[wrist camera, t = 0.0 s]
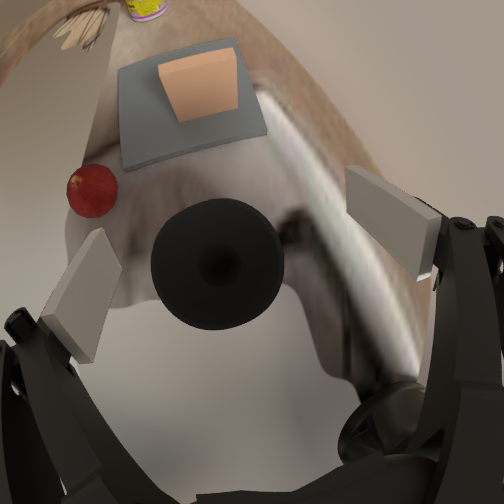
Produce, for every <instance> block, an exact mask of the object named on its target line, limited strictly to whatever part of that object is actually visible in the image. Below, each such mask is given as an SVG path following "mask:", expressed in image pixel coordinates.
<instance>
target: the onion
mask: <svg viewBox="0 0 504 504" xmlns="http://www.w3.org/2000/svg"><path fill="white" fill-rule="evenodd" d="M117 192H118V185H117V181H116V178H115V176H114V175H113V173H112V172H111V171H110V170H109V169H108V168H107V167H105V166H102V165H98V164H89V165H84V166H82V167H81V168H79V169H77V170H76V171H75V172H74V173H73V174H72V175H71V177H70V179H69V182H68V184H67V198H68V201H69V204H70V206H71V207H72V209H73V210H74V211H75V212H76V213H77V214H79V215H81V216H84V217H86V218H97V217H101V216H102V215H104V214H106V213H107V212H108V211H109V210H110V209H111V208H112V207H113V206H114V204H115V201H116V199H117Z"/></svg>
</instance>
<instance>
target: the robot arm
mask: <svg viewBox="0 0 504 504" xmlns="http://www.w3.org/2000/svg"><path fill="white" fill-rule="evenodd" d="M345 183H346V206H347V213H348V214H349V215H350V216H351V217H352V218H353V219H354V220H355V221H357V222H358V223H359V224H360V225H361V226H362V227H363V228H364V229H365V230H366V231H367V232H368V233H369V234H370V235H371V236H372V237H373V238H374V239H375V240H377V241H378V242H379V243H380V244H381V245H382V246H383V247H384V248H385V249H386V250H387V251H388V252H389V253H390V254H391V255H392V256H393V257H394V258H395V259H396V260H397V262H398V263H399V264H400V265H401V266H402V267H403V268H404V269H405V270H406V271H407V272H408V273H409V274H410V275H411V276H412V277H413V278H414V279H415V281H416V282H417V281H420V280H422V279H424V278H427V277H429V276H430V274H431V270H432V265H433V264H434V265H435V266H436V267H437V268H438V273H437V277H436V280H435V284H434V288H433V291H435V290H436V314H435V327H434V338H433V347H432V355H431V362H430V369H429V375H428V380H427V387H424V386H423V385H421V384H418V383H415V382H401V383H396V384H393V385H390V386H388V387H386V388H383V389H382V390H380V391H378V392H376V393H375V394H373V395H372V396H370V397H369V398H368V399H367V400H365V401H364V402H363V403H362V404H361V405H360V406H359V407H358V408H357V409H356V410H355V411H354V412H353V413H352V415H351V416H350V417H349V419H348V420H347V422H346V423H345V425H344V427H343V429H342V431H341V433H340V436H339V440H338V454H339V457H340V459H341V460H342V462H343V464H344V465H343V466H340V467H337V468H336V469H334V470H332V471H331V472H329V473H327V474H326V475H324V476H322V477H320V478H318V479H317V480H315V481H313V482H311V483H309V484H308V485H305V486H303V487H302V488H299V489H297V490H295V491H292V492H257V491H242V490H240V491H232V492H222V493H211V494H197V495H196V498H197V501H196V502H193V503H191V504H504V387H503V385H502V364H501V351H502V354H503V358H504V218H502V217H499V216H489V217H488V218H487V222H486V226H485V227H480V228H477V227H476V225H475V224H474V223H473V222H472V221H470V220H468V219H466V218H462V217H453V218H450V219H449V218H448V217H446V216H445V215H444V214H442V213H441V212H439V211H438V210H436V209H435V208H432V206H430V205H429V204H426V202H424V201H422V200H421V199H419V198H417V197H414V196H411V195H410V194H408V193H406V192H405V191H403V190H402V189H400V188H398V187H396V186H395V185H393V184H391V183H390V182H388V181H386V180H385V179H383V178H381V177H379V176H377V175H376V174H374V173H372V172H370V171H368V170H366V169H365V168H363V167H361V166H359V165H357V164H356V165H350V166H345ZM502 261H503V272H502V273H501V271H500V267H501V264H502ZM121 271H122V267H121V265H120V263H119V261H118V259H117V257H116V255H115V253H114V251H113V249H112V247H111V244H110V242H109V240H108V238H107V236H106V233H105V231H104V229H103V227H101V228H98V229H95V230H92V231H91V232H90V233H89V235H88V236H87V238H86V239H85V241H84V242H83V244H82V245H81V247H80V248H79V250H78V251H77V253H76V254H75V256H74V258H73V259H72V261H71V262H70V264H69V266H68V267H67V269H66V271H65V272H64V274H63V276H62V277H61V279H60V281H59V282H58V284H57V286H56V288H55V289H54V291H53V292H52V294H51V296H50V298H49V300H48V302H47V303H46V306H45V307H44V309H43V311H42V313H41V315H40V317H39V319H38V321H37V323H36V322H35V321H34V319H33V318H32V317H31V315H30V314H29V313H28V311H27V310H26V308H25V307H22V308H19V309H17V310H16V311H14V312H13V313H12V314H11V315H10V316H9V318H8V319H7V321H6V323H5V326H4V329H5V330H6V331H7V332H8V334H9V335H10V336H11V337H12V338H13V340H14V341H15V342H16V345H14V346H12V347H10V346H9V345H8V344H7V343H6V341H5V340H0V504H180V503H179V502H177V501H176V500H175V499H173V498H172V497H170V496H169V495H167V494H166V493H164V492H163V491H161V490H160V489H159V488H158V487H157V486H156V485H155V484H154V483H153V482H152V480H151V479H150V478H149V477H148V476H147V475H146V474H145V473H144V471H143V470H142V469H141V468H140V467H139V466H138V464H137V463H136V462H135V461H134V459H133V458H132V457H131V456H130V454H129V453H128V452H127V451H126V449H125V448H124V447H123V445H122V444H121V443H120V441H119V440H118V439H117V437H116V436H115V434H114V433H113V431H112V430H111V429H110V427H109V426H108V424H107V423H106V421H105V420H104V418H103V417H102V415H101V414H100V412H99V410H98V409H97V407H96V406H95V404H94V403H93V401H92V399H91V397H90V396H89V394H88V392H87V390H86V389H85V387H84V385H83V383H82V382H81V380H80V378H79V376H78V374H77V372H76V370H75V368H74V367H73V366H72V365H71V364H70V363H69V361H70V358H71V355H72V357H73V358H74V359H75V360H76V361H77V362H78V363H79V364H87V363H93V362H94V358H95V354H96V350H97V346H98V342H99V339H100V335H101V332H102V328H103V325H104V322H105V318H106V315H107V312H108V309H109V306H110V303H111V300H112V297H113V294H114V291H115V288H116V285H117V282H118V279H119V276H120V274H121ZM436 288H437V289H436ZM11 384H12V385H13V386H14V387H15V388H16V389H17V390H18V391H19V395H17V394H16V393H15V392H14V391H13V388H12V387H11V386H12V385H11ZM60 479H61V481H62V482H63V484H64V486H65V488H66V491H67V495H65V493H64V490H63V487H62V484H61V481H60Z"/></svg>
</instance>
